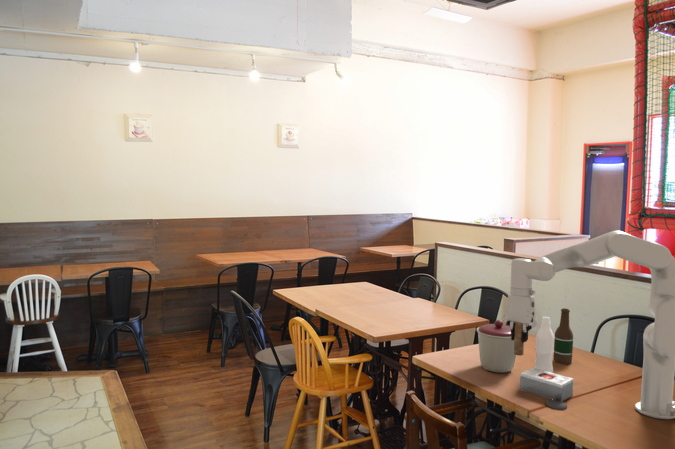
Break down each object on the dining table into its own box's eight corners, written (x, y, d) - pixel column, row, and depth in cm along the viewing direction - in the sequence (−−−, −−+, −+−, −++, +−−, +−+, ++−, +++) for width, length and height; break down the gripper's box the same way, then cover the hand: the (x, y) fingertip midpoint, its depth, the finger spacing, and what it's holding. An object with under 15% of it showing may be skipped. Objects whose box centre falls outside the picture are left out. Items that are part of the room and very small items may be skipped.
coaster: (570, 405, 193) (570, 404, 193) (562, 411, 188) (562, 409, 188) (551, 400, 198) (551, 398, 198) (542, 405, 193) (542, 403, 193)
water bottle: (553, 381, 217) (557, 320, 215) (535, 379, 219) (538, 319, 217) (550, 375, 224) (553, 316, 222) (532, 373, 226) (535, 314, 224)
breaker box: (572, 395, 203) (573, 378, 203) (561, 402, 196) (562, 385, 196) (531, 383, 214) (532, 367, 214) (519, 389, 207) (520, 373, 207)
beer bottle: (573, 361, 243) (576, 308, 241) (570, 366, 236) (573, 312, 235) (554, 357, 247) (557, 306, 245) (551, 362, 241) (554, 309, 239)
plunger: (553, 383, 205) (554, 377, 205) (549, 386, 202) (549, 379, 202) (543, 380, 208) (543, 374, 208) (538, 383, 205) (539, 377, 205)
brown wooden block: (525, 354, 202) (526, 317, 201) (520, 356, 199) (522, 318, 198) (516, 352, 204) (517, 315, 203) (512, 354, 202) (513, 317, 201)
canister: (475, 360, 242) (477, 313, 240) (517, 364, 237) (520, 317, 235) (474, 373, 224) (476, 323, 223) (520, 378, 220) (522, 327, 218)
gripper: (547, 294, 197) (545, 343, 198) (505, 287, 209) (503, 334, 210) (537, 296, 192) (535, 347, 193) (495, 290, 203) (493, 337, 205)
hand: (519, 340), depth 201 cm, fingers closed on brown wooden block, 3 cm apart
